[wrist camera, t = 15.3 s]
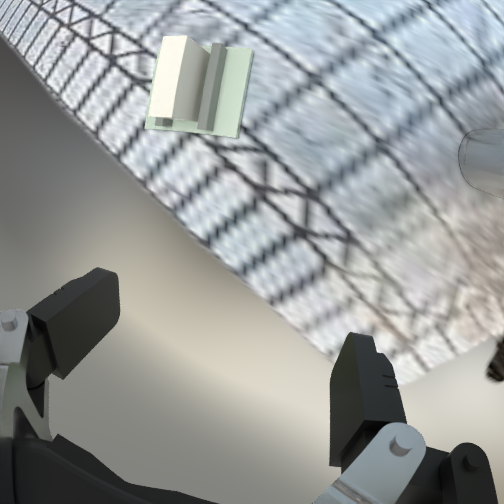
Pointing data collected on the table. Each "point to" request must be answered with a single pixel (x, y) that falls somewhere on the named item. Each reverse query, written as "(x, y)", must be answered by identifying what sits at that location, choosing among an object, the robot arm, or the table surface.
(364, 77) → the table surface
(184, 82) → the cream rectangular prism
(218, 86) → the dish rack
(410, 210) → the table surface
